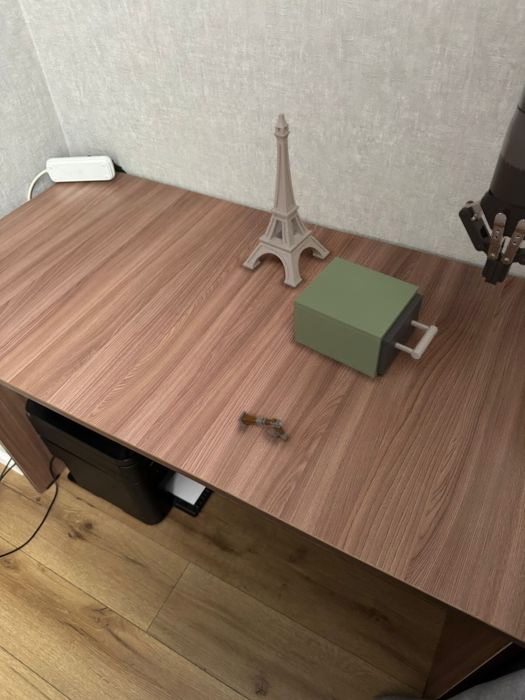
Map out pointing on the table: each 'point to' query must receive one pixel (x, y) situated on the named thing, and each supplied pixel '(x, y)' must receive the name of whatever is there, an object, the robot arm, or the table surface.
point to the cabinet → (350, 313)
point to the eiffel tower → (285, 219)
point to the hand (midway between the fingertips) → (492, 280)
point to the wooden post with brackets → (264, 424)
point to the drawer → (404, 335)
